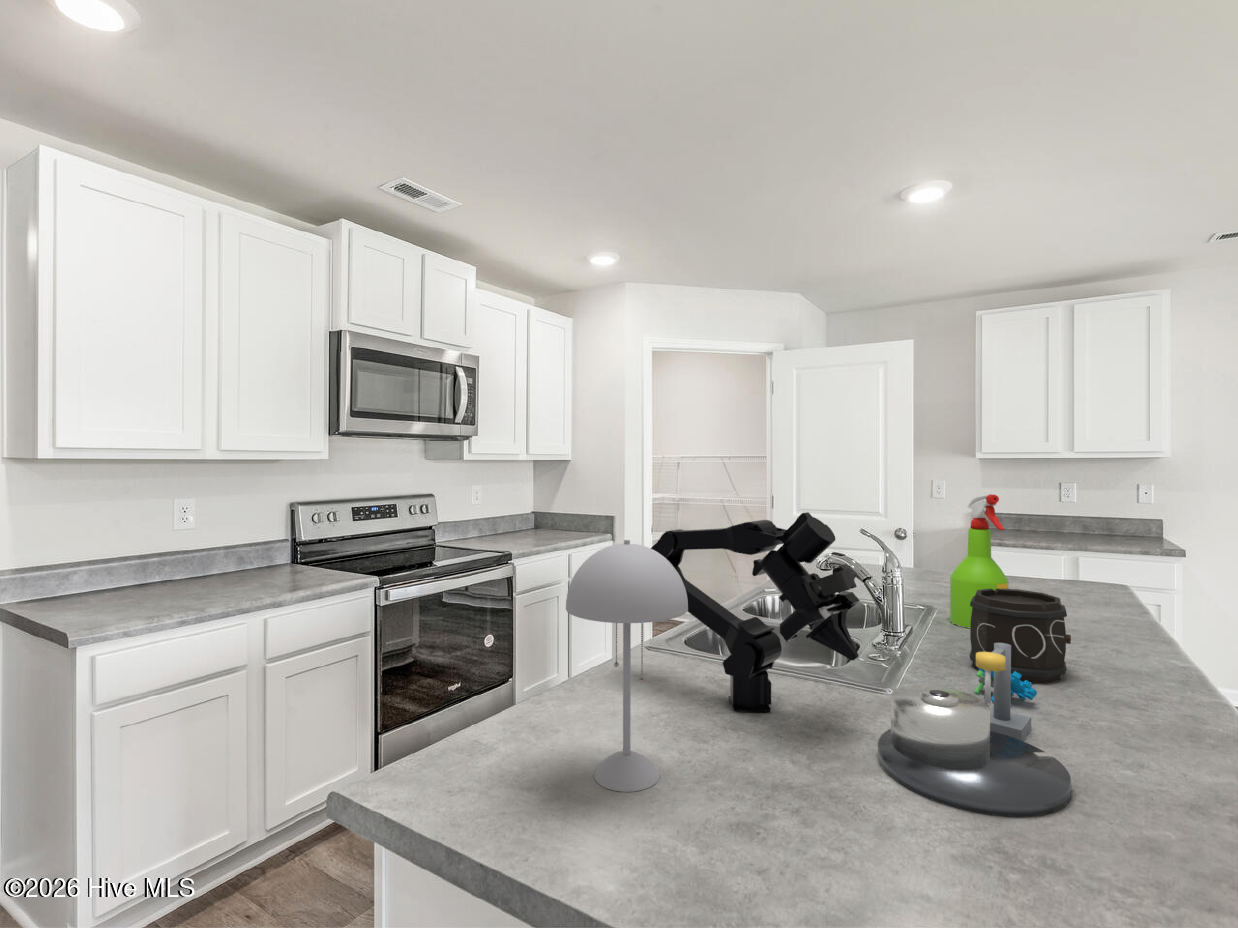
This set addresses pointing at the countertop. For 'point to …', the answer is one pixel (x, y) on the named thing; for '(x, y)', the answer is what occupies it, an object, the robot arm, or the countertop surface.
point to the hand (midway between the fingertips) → (855, 658)
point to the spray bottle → (976, 562)
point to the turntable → (987, 779)
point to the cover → (940, 726)
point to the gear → (1016, 685)
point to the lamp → (627, 631)
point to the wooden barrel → (1021, 631)
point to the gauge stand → (1002, 692)
